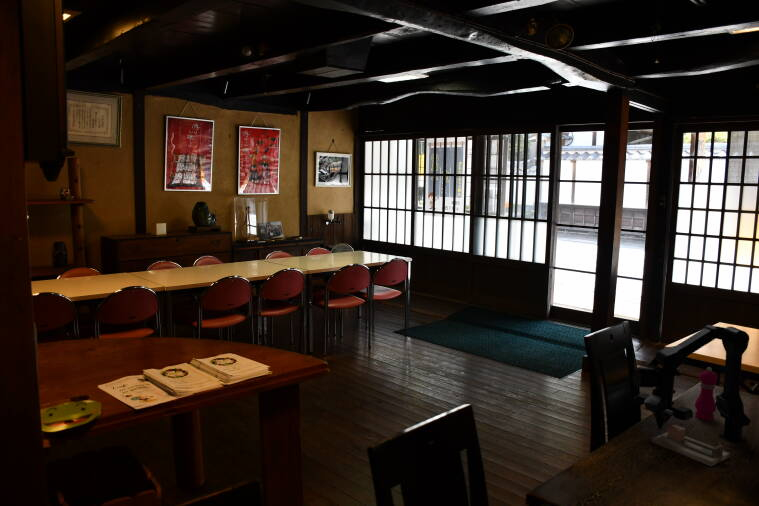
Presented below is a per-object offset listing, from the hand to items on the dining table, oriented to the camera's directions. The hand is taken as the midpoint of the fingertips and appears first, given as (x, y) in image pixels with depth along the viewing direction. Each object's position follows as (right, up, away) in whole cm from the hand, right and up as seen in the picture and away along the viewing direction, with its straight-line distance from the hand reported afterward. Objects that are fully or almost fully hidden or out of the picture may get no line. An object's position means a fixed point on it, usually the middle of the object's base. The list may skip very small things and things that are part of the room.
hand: (660, 429), depth 207 cm
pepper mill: (+26, -1, +20) cm, 33 cm away
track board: (+6, -4, -8) cm, 11 cm away
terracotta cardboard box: (+3, -2, -4) cm, 6 cm away
